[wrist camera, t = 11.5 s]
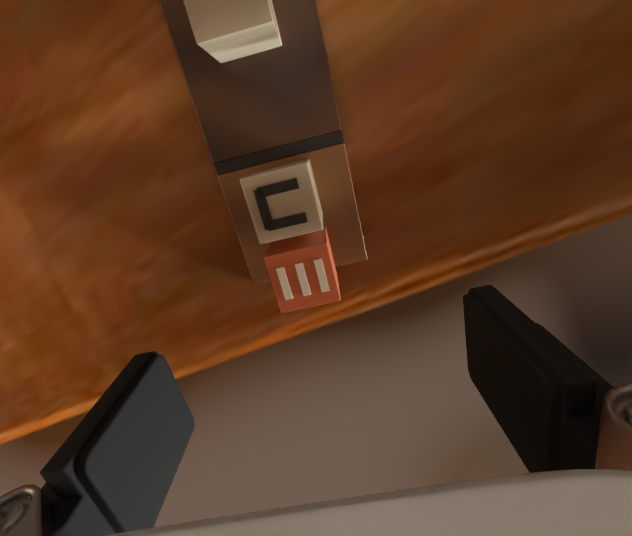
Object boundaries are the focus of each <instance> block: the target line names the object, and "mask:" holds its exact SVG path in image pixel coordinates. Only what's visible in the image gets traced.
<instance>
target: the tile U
mask: <svg viewBox="0 0 632 536" xmlns="http://www.w3.org/2000/svg"><path fill="white" fill-rule="evenodd" d="M240 183H241V186H242V189H243V192H244V196H245V199H246V202H247V205H248V208H249V212H250V215H251V218H252V221H253V224H254V228H255V231H256V234H257V237H258V240H259V243H260V244H264V243H268V242H273V241H277V240H281V239H285V238H290V237H294V236H298V235H302V234H307V233H311V232H315V231H319V230H323V213H322V209H321V205H320V201H319V196H318V192H317V188H316V184H315V180H314V175H313V171H312V167H311V163H310V159H304V160H300V161H296V162H292V163H288V164H284V165H280V166H276V167H273V168H269V169H265V170H261V171H257V172H254V173H251V174H249V175H247V176H245V177H243V178H241V179H240Z"/></svg>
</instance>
